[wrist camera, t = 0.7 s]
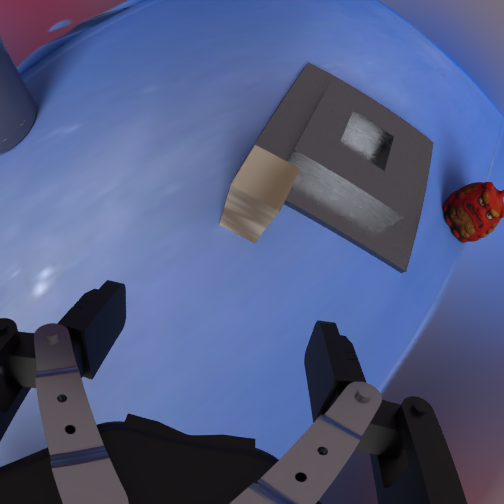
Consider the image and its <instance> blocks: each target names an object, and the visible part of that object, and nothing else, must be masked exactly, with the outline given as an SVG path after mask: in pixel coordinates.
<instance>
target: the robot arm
mask: <svg viewBox="0 0 504 504" xmlns="http://www.w3.org/2000/svg"><path fill="white" fill-rule="evenodd" d="M35 118H36V105H35V103H34V101H33V99H32V97H31V96H30V94H29V92H28V90H27V88H26V86H25V84H24V82H23V81H22V79H21V77H20V75H19V73H18V71H17V69H16V67H15V65H14V63H13V61H12V59H11V57H10V55H9V53H8V51H7V49H6V47H5V45H4V43H3V40H2V38H1V36H0V154H2V153H4V152H7V151H9V150H10V149H12V148H13V147H15V146H16V145H17V144H18V143H19V142H20V141H21V140H22V139H23V138H24V137H25V136H26V135H27V133H28V132H29V130H30V129H31V127H32V125H33V123H34V120H35ZM125 320H126V288H125V285H124V284H122V283H118V282H114V281H109V280H107V281H106V282H105V283H104V284H103V285H102V286H101V287H100V288H99V290H98V289H93V290H91V291H89V292H87V293H85V294H84V295H83V296H82V297H81V298H80V299H79V301H77V302H76V304H75V305H74V307H72V308H71V309H70V310H69V311H68V312H67V313H66V315H65V316H64V317H63V318H62V319H61V320H60V321H59V322H58V323H57V324H55V323H52V324H46V325H43V326H41V327H39V328H38V329H37V330H36V332H35V333H26V332H18V329H17V326H16V323H15V322H14V321H13V320H11V319H7V318H0V441H1V439H2V437H3V435H4V434H5V432H6V430H7V428H8V426H9V425H10V423H11V421H12V419H13V417H14V416H15V414H16V412H17V410H18V409H19V407H20V405H21V404H22V402H23V400H24V399H25V397H26V395H27V394H28V392H29V390H30V389H31V387H32V388H37V395H38V401H39V407H40V412H41V418H42V423H43V428H44V432H45V437H46V441H47V445H48V448H45V449H43V450H41V451H38V452H36V453H34V454H31V455H29V456H27V457H24V458H22V459H20V460H17V461H15V462H12V463H10V464H7V465H5V466H2V467H0V504H322V503H321V502H320V501H319V499H320V498H321V496H322V495H323V494H324V492H325V491H326V490H327V488H328V487H329V486H330V484H331V483H332V481H333V480H334V479H335V477H336V476H337V475H338V473H339V472H340V470H341V469H342V468H343V466H344V465H345V463H346V462H347V460H348V459H349V457H350V456H351V454H352V453H353V451H354V450H359V451H363V452H367V453H370V457H371V463H372V468H373V474H374V480H375V486H376V492H377V499H378V504H467V502H466V498H465V495H464V492H463V489H462V486H461V483H460V480H459V477H458V474H457V471H456V468H455V465H454V462H453V459H452V457H451V454H450V451H449V449H448V446H447V443H446V440H445V438H444V435H443V433H442V430H441V428H440V425H439V423H438V420H437V418H436V415H435V413H434V410H433V408H432V407H431V405H430V404H429V403H428V402H427V401H425V400H424V399H422V398H419V397H414V396H413V397H408V398H406V399H404V401H403V402H402V404H401V405H399V404H396V403H391V402H388V401H385V400H382V397H381V394H380V392H379V391H378V390H377V389H376V388H375V387H374V386H372V385H370V384H368V383H366V380H365V377H364V374H363V372H362V369H361V366H360V363H359V361H358V358H357V355H356V354H355V353H356V352H355V350H354V347H353V344H352V343H351V342H350V341H349V340H348V339H347V337H346V336H342V335H340V334H339V331H338V329H337V326H336V324H335V323H332V322H325V321H317V322H316V324H315V326H314V329H313V332H312V335H311V338H310V340H309V343H308V346H307V349H306V352H305V359H304V363H305V370H306V376H307V383H308V390H309V396H310V403H311V410H312V417H313V424H312V425H311V427H310V428H309V429H308V430H307V431H306V432H305V433H304V434H303V436H302V437H301V438H300V439H299V440H298V441H297V442H296V443H295V444H294V445H293V446H292V447H291V448H290V449H289V451H288V452H287V453H286V454H285V455H284V456H283V457H282V458H281V459H280V460H278V459H277V458H275V457H274V456H272V455H271V454H269V453H267V452H265V451H262V450H260V449H257V448H255V439H251V438H243V437H236V436H229V435H187V434H184V433H182V432H180V431H177V430H175V429H173V428H171V427H169V426H166V425H164V424H162V423H160V422H158V421H154V420H150V419H146V418H142V417H139V416H135V415H132V414H128V415H127V417H126V420H125V422H122V421H118V422H106V423H102V424H98V425H96V423H95V420H94V417H93V415H92V412H91V409H90V406H89V403H88V399H87V396H86V393H85V390H84V387H83V383H82V380H81V378H82V377H86V378H89V379H93V378H94V376H95V374H96V372H97V371H98V369H99V367H100V366H101V364H102V362H103V361H104V359H105V357H106V356H107V354H108V352H109V351H110V349H111V347H112V346H113V344H114V342H115V341H116V339H117V338H118V336H119V334H120V333H121V331H122V329H123V327H124V325H125Z"/></svg>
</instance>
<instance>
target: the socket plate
mask: <svg viewBox="0 0 504 504" xmlns="http://www.w3.org/2000/svg"><path fill="white" fill-rule="evenodd" d="M255 145H257V146H258V147H260V148H262V149H264V150H266V151H268V152H270V153H272V154H274V155H276V156H277V157H279V158H281V159H283V160H285V161H287V162H289V163H290V164H292V165H294V166H296V167H298V168H299V169H300V171H299V173H298V175H297V177H296V179H295V181H294V183H293V186H292V188H291V190H290V192H289V194H288V196H287V198H286V200H285V202H284V204H285V205H287V206H289V207H291V208H292V209H294V210H296V211H298V212H299V213H301V214H303V215H305V216H307V217H308V218H310V219H312V220H314V221H315V222H317V223H319V224H321V225H322V226H324V227H326V228H328V229H329V230H331V231H333V232H334V233H336V234H338V235H340V236H341V237H343V238H345V239H346V240H348V241H350V242H351V243H353V244H355V245H356V246H358V247H360V248H361V249H363V250H365V251H366V252H368V253H370V254H371V255H373V256H375V257H376V258H378V259H380V260H381V261H383V262H384V263H386V264H388V265H389V266H391V267H392V268H394V269H396V270H397V271H399V272H400V273H403V272H406V270H407V266H408V263H409V259H410V256H411V252H412V248H413V244H414V240H415V236H416V232H417V228H418V224H419V220H420V215H421V210H422V206H423V201H424V196H425V191H426V186H427V180H428V174H429V168H430V162H431V156H432V149H433V142H432V141H431V140H430V139H428V138H427V137H426V136H425V135H423V134H422V133H421V132H419V131H418V130H417V129H415V128H414V127H413V126H411V125H410V124H408V123H407V122H406V121H404V120H403V119H402V118H400V117H399V116H397V115H396V114H394V113H393V112H391V111H390V110H389V109H387V108H386V107H384V106H383V105H381V104H379V103H378V102H376V101H375V100H373V99H372V98H370V97H369V96H367V95H365V94H364V93H362V92H361V91H359V90H357V89H356V88H354V87H352V86H351V85H349V84H347V83H345V82H344V81H342V80H340V79H338V78H337V77H335V76H333V75H331V74H330V73H328V72H326V71H324V70H322V69H320V68H318V67H316V66H314V65H313V64H311V63H309V62H308V64H307V65H306V67H305V68H304V70H303V71H302V73H301V74H300V75H299V77H298V78H297V80H296V81H295V83H294V84H293V86H292V87H291V89H290V90H289V92H288V93H287V95H286V96H285V98H284V99H283V101H282V102H281V104H280V105H279V107H278V109H277V110H276V112H275V113H274V115H273V116H272V118H271V119H270V121H269V122H268V124H267V126H266V127H265V129H264V130H263V132H262V133H261V135H260V137H259V138H258V140H257V141H256V143H255V144H254V146H255ZM254 146H253V147H254ZM252 149H253V148H252ZM252 149H251V151H252ZM251 151H250V152H251ZM249 154H250V153H249ZM249 154H248V155H249ZM247 157H248V156H247ZM247 157H246V159H247ZM246 159H245V160H246ZM244 162H245V161H244ZM244 162H243V164H244ZM243 164H242V165H243ZM242 165H241V167H242ZM241 167H240V168H241ZM239 170H240V169H239ZM239 170H238V172H239ZM238 172H237V173H238ZM236 175H237V174H236Z"/></svg>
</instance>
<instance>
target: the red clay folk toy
mask: <svg viewBox="0 0 504 504" xmlns="http://www.w3.org/2000/svg"><path fill="white" fill-rule="evenodd" d="M503 197H504V190H502V191H499V190H497V189H496V188H495V187H494V185H493V184H492V182H486V183H482V182H478V183H471V184H468V185H466V186H464V187H462V188H460V189H459V190H457V191H455V192H453V193H452V194H451V195H450V196H449V197H448V199H447V200H446V202H445V203H444V205H443V211H444V213H445V221H446V223H447V224H448V225H449V226H450V227H451V229H452V232H453V234H454V236H455V237H456V238H457V239H458V240H459V241H460V242H462V243H463V242H468V241H477V240H479V239H480V238H483V237H485V236H487V235H488V234H489V233H491V232H492V231H493V230H494V228H495V227H496V226H497V224H498V223H499V221H500V219H501V218H503V217H504V203H503Z"/></svg>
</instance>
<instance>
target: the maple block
mask: <svg viewBox="0 0 504 504" xmlns="http://www.w3.org/2000/svg"><path fill="white" fill-rule="evenodd" d="M299 171H300V169H299V168H298V167H296V166H294V165H292V164H290V163H289V162H287V161H285V160H283V159H281V158H279V157H277V156H276V155H274V154H272V153H270V152H268V151H266V150H264V149H262V148H260V147H258V146H257V145H255V146H254V147H253V149H252V151H251V152H250V154H249V155H248V157H247V159H246V160H245V162H244V164H243V165H242V167H241V168H240V170H239V172H238V173H237V175H236V177H235V178H234V180H233V182H232V183H231V186H230V189H229V193H228V196H227V199H226V203H225V206H224V210H223V213H222V217H221V220H220V223H219V225H221V226H223V227H225V228H227V229H229V230H231V231H233V232H234V233H236V234H238V235H240V236H242V237H244V238H246V239H248V240H249V241H251V242H253V243H255V242H256V241H257V239H258V238H259V237H260V236H261V234H262V233H263V232H264V230H265V229H266V228H267V227H268V225H269V224H270V223H271V221H272V220H273V219H274V218H275V216H276V215H277V214H278V212H279V211H280V210H281V208H282V206H283V204H284V202H285V200H286V198H287V196H288V194H289V192H290V190H291V188H292V186H293V183H294V181H295V179H296V177H297V175H298V173H299Z"/></svg>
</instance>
